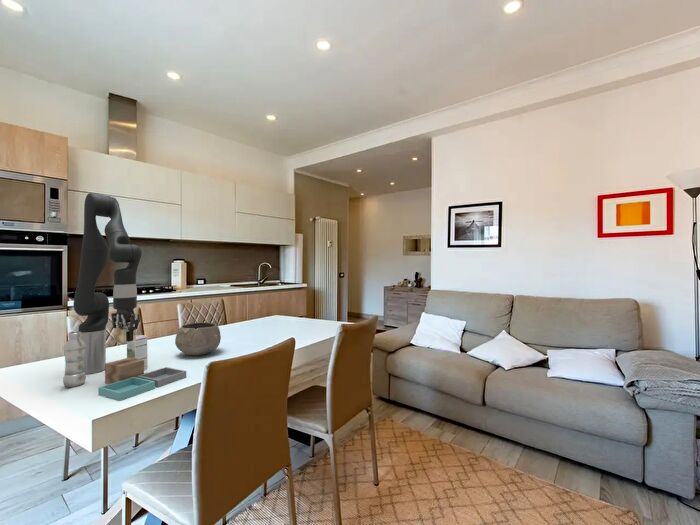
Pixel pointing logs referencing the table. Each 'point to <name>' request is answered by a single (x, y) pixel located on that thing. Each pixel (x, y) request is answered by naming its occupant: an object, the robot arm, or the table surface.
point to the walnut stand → (123, 369)
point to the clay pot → (198, 338)
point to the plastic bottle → (74, 360)
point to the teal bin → (126, 388)
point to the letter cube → (122, 335)
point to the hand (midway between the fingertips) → (125, 340)
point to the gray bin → (164, 376)
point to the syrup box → (138, 349)
